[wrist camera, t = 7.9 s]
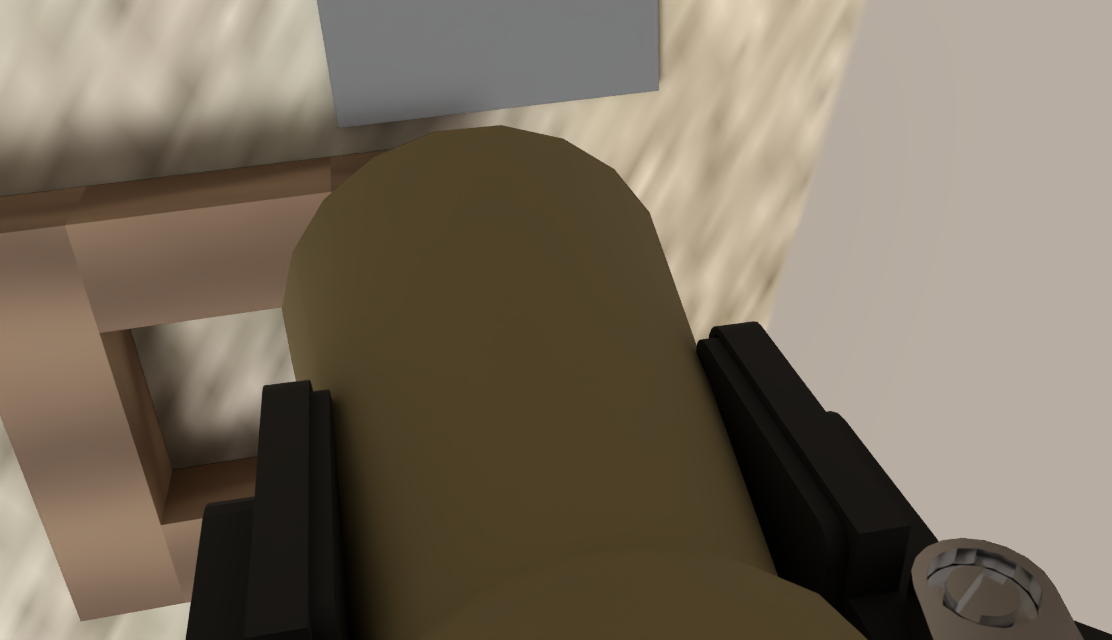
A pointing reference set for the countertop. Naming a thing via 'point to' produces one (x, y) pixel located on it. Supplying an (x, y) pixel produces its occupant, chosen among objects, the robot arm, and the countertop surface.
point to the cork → (524, 408)
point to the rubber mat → (483, 54)
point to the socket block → (133, 356)
